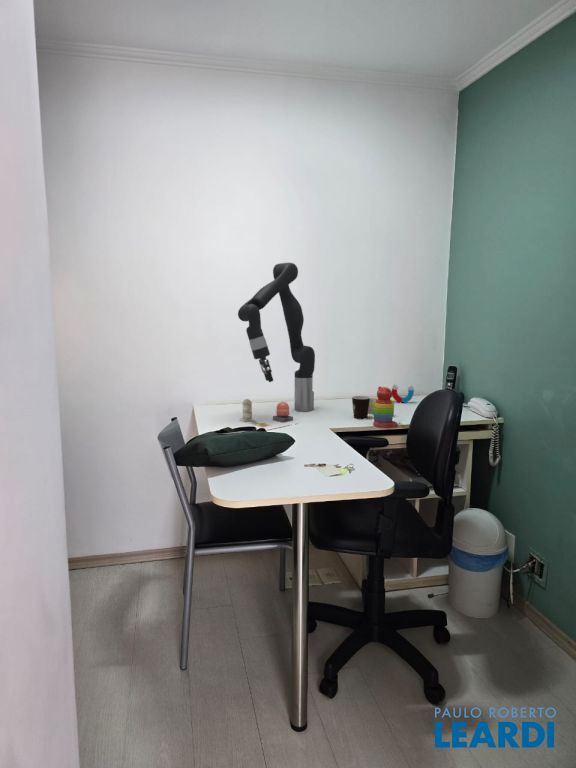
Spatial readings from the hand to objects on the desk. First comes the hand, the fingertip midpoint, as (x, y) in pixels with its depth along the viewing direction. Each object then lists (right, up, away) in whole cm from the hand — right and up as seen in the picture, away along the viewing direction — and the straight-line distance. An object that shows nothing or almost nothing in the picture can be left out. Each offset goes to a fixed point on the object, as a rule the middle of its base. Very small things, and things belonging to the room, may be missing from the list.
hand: (269, 380), depth 258 cm
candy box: (+53, -17, +20) cm, 59 cm away
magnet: (+71, -12, +49) cm, 87 cm away
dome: (+6, -16, +2) cm, 17 cm away
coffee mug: (+44, -18, +14) cm, 49 cm away
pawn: (-11, -18, +3) cm, 21 cm away
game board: (-3, -20, 0) cm, 20 cm away
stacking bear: (+52, -21, -3) cm, 56 cm away
